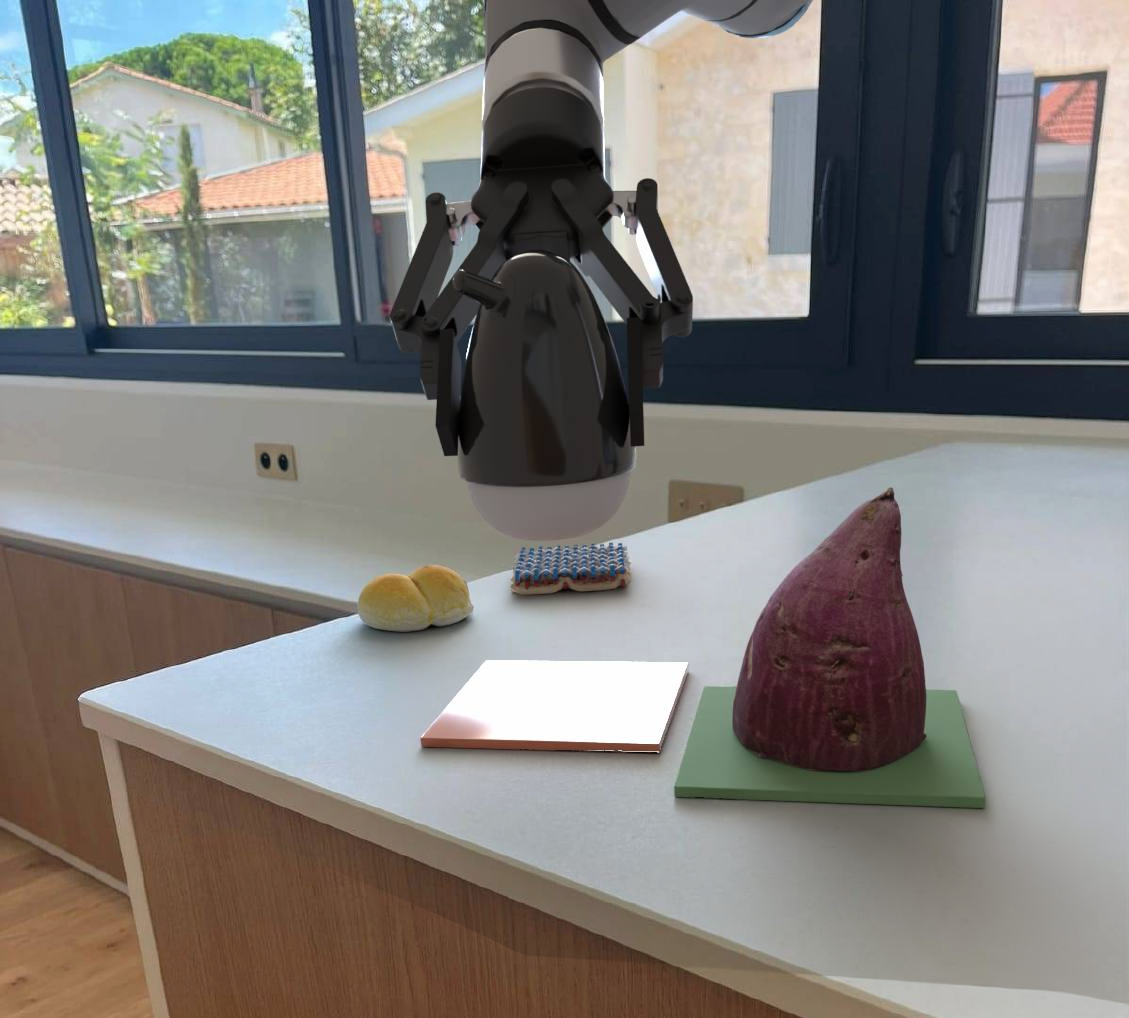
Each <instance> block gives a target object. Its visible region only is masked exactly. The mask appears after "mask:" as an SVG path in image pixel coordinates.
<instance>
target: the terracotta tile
mask: <svg viewBox="0 0 1129 1018" xmlns="http://www.w3.org/2000/svg"><path fill="white" fill-rule="evenodd" d="M689 668H690V667H689V663H688V662H659V661H657V662H655V661H654V662H647V661H633V662H632V661H568V660H567V661H562V660H561V661H560V660H558V661H555V660H551V661H550V660H485V661H484V662H483V663H482V664H481V665H480V667H479V668H478V669H477V670H476V671H475V673H474V674H473V675H472V676H471V677H470V678H469V680H468V681H467V682H466V683H465V685H463V687H462V688H461V689H460V690H459V692H458V693H457V694H456V695H455V696H454V698H453V699H451V700H450V702H449V704H447V706H446V707H445V708H444V709H443V711H441V713H440V714H439V715H438V716H437V717H436V718H435V720H433V722H432V723H431V724H430V726H429V727H428V728H427V729H426V730H425V732H424V733H423V734H422V735H421V736H420V739H419V740H420V745H421V747H423V748H449V749H450V748H452V749H453V748H455V749H486V750H487V749H491V750H492V749H493V750H520V749H522V750H524V749H528V750H527V751H555V750H572V751H571V752H574V751H573V750H579V751H578V752H582V751H581V750H587V751H586V752H589V751H588V750H604V751H605V750H614V751H618V750H622V751H660V748H661V746H662V747H663V745H662V743H663V744H664V742H663V740H664V741H665V739H664V737H665V738H666V736H665V734H666V732H667V733H668V731H667V730H669V728H670V725H671V722H670V720H671V721H672V719H673V717H674V714H673V713H675V711H674V710H676V708H675V706H676V707H677V705H678V702H677V700H678V701H679V699H680V696H681V693H682V691H681V690H683V688H682V687H684V685H685V681H686V679H687V676H688V673H689V670H690V669H689ZM683 684H684V685H683ZM676 704H677V705H676ZM671 718H672V719H671ZM669 724H670V725H669ZM668 727H669V728H668ZM666 735H667V734H666ZM533 749H534V750H533ZM661 749H662V748H661ZM660 752H661V751H660Z"/></svg>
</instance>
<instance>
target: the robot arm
mask: <svg viewBox="0 0 1129 1018" xmlns="http://www.w3.org/2000/svg"><path fill="white" fill-rule="evenodd" d="M813 1H814V0H483V18H484V32H485V33H484V36H485V39H484V40H485V58H484V59H485V61H484V62H485V64H484V65H485V66H484V72H483V74H484V77H483V87H482V110H481V111H482V112H481V116H482V117H481V126H482V127H481V128H482V131H481V149H480V150H481V152H480V178H479V179H480V180H479V185H478V187H477V189H476V190H475V192H474V193H473V194H472V196H471V198H470V200H462V201H455V202H447V199H446V196H445V195H444V194H443V193H442V192H436V191H435V192H432V193H430V194H428V195H427V196H426V197H425V201H424V202H425V218H426V221H425V222H426V223H425V225H424V228H423V231H422V232H421V235H420V238H419V240H418V243H417V245H416V248H415V250H414V253H413V255H412V257H411V260H410V262H409V265H408V268H407V270H406V273H405V275H404V277H403V279H402V283H401V285H400V288H399V290H398V293H397V295H396V297H395V300H394V303H393V305H392V308H391V311H390V313H389V319H390V322H391V326H392V329H393V332H394V335H395V340H396V343H397V345H398V348H399V350H400V351H401V352H402V353H405V354H411V353H414V352H415V351H419V352H420V363H419V379H420V382H421V387H422V389H423V392H424V395H425V398H426V400H427V401H436V403H435V404H436V406H435V425H434V426H435V429H436V432H437V433H436V434H437V437H438V439H439V443H440V446H441V449H442V453H443V457H458V436H459V432H458V423H459V406H460V395H461V386H462V358H461V355H460V350H459V346H458V343H459V341H460V339H461V338H462V336H464V333H465V332H466V331H467V329H468V328H469V326H470V325H471V323H472V322H473V320H475V319H476V315H477V312H478V309H479V306H480V303H478V302H476V301H475V300H473V299H471V298H469V297H467V296H466V295H464V294H462V293H461V292H459V291H457V290H456V289H455V288H454V286H453V277H454V275H455V273H456V272H457V271H459V270H465V271H468V272H471V273H473V274H476V275H479V276H482V277H485V278H487V279H490V280H491V279H492V277H493V275H494V274H495V272H496V271H497V269H498V268H499V267H500V266H501V265H502V264H503V263H504V262H505V261H506V260H508V259H509V258H511V257H512V256H514V255H516V254H518V253H520V252H524V251H527V250H532V249H540V250H547V251H551V252H554V253H556V254H559V255H561V256H562V257H564V258H566V259H567V260H569V261H570V262H571V260H572V261H573V262H574V263H575V266H577V267H578V270H579V271H581V274H582V275H584V277H589V278H590V279H591V280H592V281H593V283H594V284H595V285H596V287H597V288H598V289H599V291H600V292H601V293H602V295H603V296H604V297H605V298H606V300H607V301H608V302H609V304H610V305H611V306H612V308H613V310H615V311H616V313H617V314H618V315H619V317H620V319H622V321H623V322H624V323H625V325H626V347H627V349H626V350H627V381H628V382H627V384H628V385H627V386H628V401H629V418H630V441H631V447H633V446H636V447H645V416H644V390H643V389H657V388H659V389H660V388H661V386H662V383H663V381H664V353H663V343H664V341H665V340H666V339H667V338H668V337H671V336H675V337H676V338H677V337H678V338H685V337H688V336H690V334H691V333H692V331H693V315H694V314H693V312H694V296H693V293H692V291H691V288H690V286H689V282H688V281H687V278H686V276H685V274H684V271H683V269H682V266H681V263H680V261H679V259H678V257H677V254H676V252H675V249H674V247H673V245H672V242H671V240H670V238H669V237H670V236H669V235H668V232H667V230H666V227H665V226H664V223H663V221H662V218H661V216H660V213H659V202H658V201H659V196H658V194H659V192H658V190H659V189H658V182H657V181H656V180H655V179H653V178H649V177H646V178H642V179H641V180H639V181H638V182H637V185H636V190H614V189H613V187H612V185H611V184H610V183H609V182H608V180H607V179H606V158H605V157H606V156H605V153H606V152H605V134H604V133H605V122H604V121H605V116H604V110H605V109H604V63H606V61H608V60H609V59H610V58H612V57H613V56H616V54H618V53H619V52H621V51H622V50H624V49H625V48H627V47H628V46H630V45H632V44H633V43H635V42H637V41H638V40H640V39H641V38H643V37H644V36H646V35H647V34H648V33H650V32H651V31H653V30H655V29H656V28H657V27H659V26H660V25H662V24H663V23H664V22H666V21H668V20H669V19H670V18H672V17H673V16H674V15H677V14H678V13H680V12H681V13H684V14H687V15H690V16H692V17H694V18H697V19H700V20H703V21H706V22H707V23H710V24H712V25H714V26H717V27H718V28H720V29H721V30H724V31H725V32H727V33H728V34H732V35H735V36H737V37H740V38H746V39H756V38H758V39H763V38H764V39H766V38H772V37H776V36H778V35H781V34H783V33H785V32H786V31H788V30H790V29H791V28H793V27H794V26H795V25H796V24H797V23H798V22H799V21H800V20H801V19H802V18H803V16H804V15H805V14H806V12H807V10H808V9H809V8H810V6H811V4H812V3H813ZM613 217H618V218H619V219H620V220H622V224H623V226H624V227H625V228H626V229H627V230H628V234H630V235H632V236H633V235H634V236H635V235H636V244H637V245H636V246H637V248H638V252H639V255H640V257H641V259H642V261H643V264H644V267H645V269H646V271H647V274H648V277H649V279H650V282H651V284H652V286H653V287H652V288H653V289H654V291H655V294H656V296H657V298H656V296H654V295H653V294H652V293H651V291H650V290H649V289H648V288H647V287H646V285H645V284H644V283H643V281H642V280H641V279H640V278H639V276H638V275H637V274H636V272H635V271H634V270H633V269H632V268H631V266H630V265H629V264H628V262H627V261H626V260H625V258H624V257H623V256H622V255H621V254H620V252H619V251H618V250H617V248H616V247H615V245H613V243H612V242H611V240H610V239H609V238H608V237H607V236H606V234H605V232H604V228H605V227H606V226H607V225H608V224H609V222H610V221H611V220H612V219H613ZM474 225H475V227H476V229H477V230H478V234H477V240H476V243H475V245H474V246H473V247H472V248H471V250H470V252H469V253H468V254H467V255H466V257H465V259H464V260H463V261H462V263H461V264H460V266H459V267H458V268H457V270H455V272H454V274H452V277H451V278H450V280H449V281H448V282H447V283H446V285H445V286H444V288H443V289H442V287H443V285H444V282H445V279H446V277H447V274H448V271H449V268H450V266H451V264H452V263H451V262H452V260H453V256H454V247H458V246H460V245H461V244H462V238H463V237H464V235H465V232H466V230H467V228H469V227H470V226H474Z"/></svg>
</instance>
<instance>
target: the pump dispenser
mask: <svg viewBox="0 0 1129 1018" xmlns="http://www.w3.org/2000/svg"><path fill="white" fill-rule="evenodd" d="M456 271H457V270H456ZM456 271H455V272H456ZM455 272H454V274H455V275H454V274H453V275H454V277H453V276H452V277H453V286H454V288H455V289H456V290H457V291H459V292H461V293H462V294H464V295H466V296H467V297H469V298H471V299H473V300H475V301H476V302H478V303H480V306H479V309H478V312H477V315H476V316H475V318H474V323H473V327H472V329H471V333H470V334H471V335H470V338H469V342H468V348H467V352H466V356H465V361H464V367H463V374H462V379H461V386H460V406H459V423H458V432H459V436H458V456H457V464H458V465H457V466H458V474H459V477H460V479H462V480H463V481H465V484H466V488H467V491H468V494H469V496H470V499H471V501H472V504H473V506H474V508H475V509H476V511H477V512H478V513H479V516H481V518H482V519H483V520H484V521H485V522H486V523H487V524H488V525H489V526H490V527H492V528H493V529H495V530H496V531H498V532H499V533H502V534H504V535H505V536H509V537H510V538H513V539H517V540H522V541H532V542H533V541H534V542H543V541H544V542H547V541H560V540H561V541H562V540H569V539H574V538H579V537H583V536H587V535H588V534H591V533H593V532H595V531H596V530H598V529H600V528H601V527H603V526H604V525H605V524H607V523H608V522H610V520H611V519H612V518H613V517H614V516H615V514H617V512H618V511H619V509H620V508H621V506H622V504H623V502H624V500H625V498H626V495H627V493H628V489H629V485H630V481H631V473H632V470H634V469H635V468H636V466H637V446H633V447H631V441H630V418H629V395H628V391H627V387H626V383H625V380H624V375H623V371H622V368H621V367H622V366H621V364H620V361H619V358H618V353H617V351H616V348H615V344H614V342H613V338H612V336H611V334H610V331H609V327H608V325H607V322H606V319H605V318H604V314H603V312H602V310H601V307H600V306H599V303H598V301H597V299H596V296H595V295H594V292H593V291H592V289H591V287H590V286H589V284H588V282H587V281H586V279H585V278H584V276H583V274H582V272H580V270H579V268H577V267H576V265H574V263H572V262H571V260H570V261H569V260H567V259H566V258H564V257H562V256H561V255H559V254H556V253H554V252H551V251H547V250H540V249H532V250H527V251H524V252H520V253H518V254H516V255H514V256H512V257H511V258H509V259H508V260H506V261H505V262H504V263H503V264H502V265H501V266H500V267H499V268H498V269H497V271H496V272H495V274H494V275H493V277H492V279H491V280H490V279H487V278H485V277H482V276H479V275H476V274H473V273H471V272H468V271H465V270H459V271H457V272H456V273H455Z"/></svg>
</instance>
